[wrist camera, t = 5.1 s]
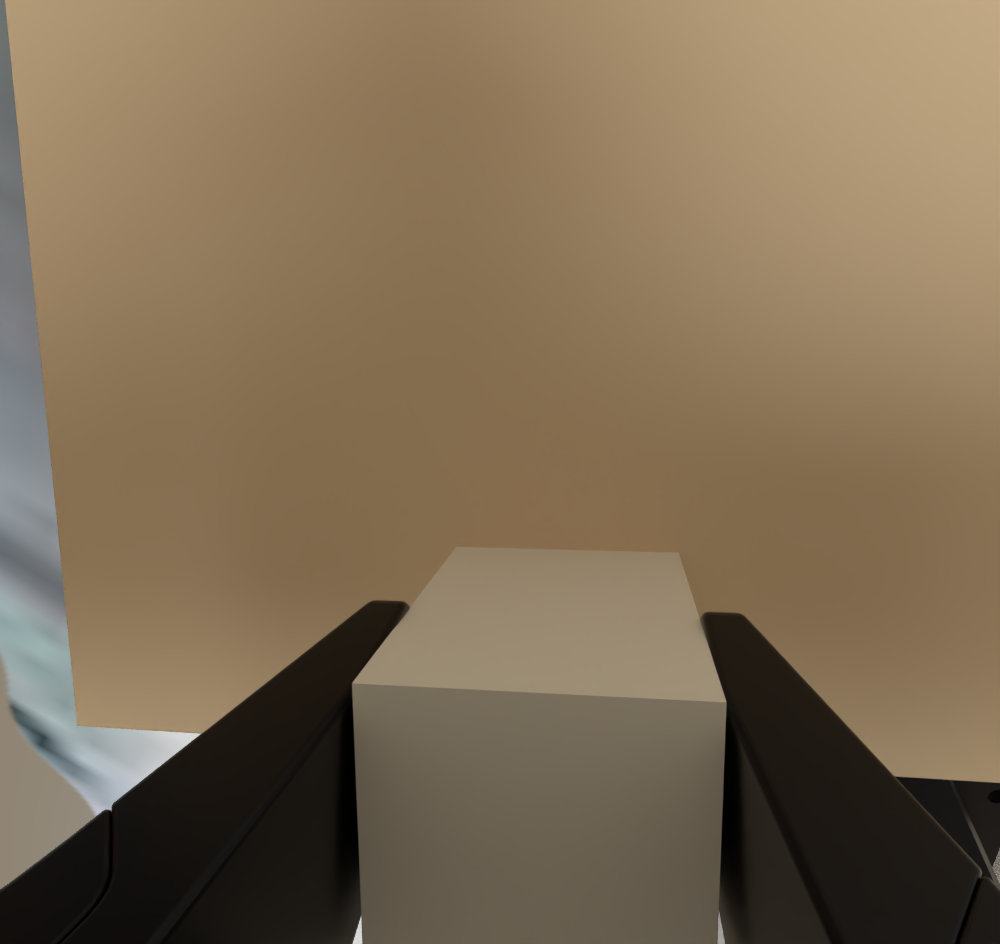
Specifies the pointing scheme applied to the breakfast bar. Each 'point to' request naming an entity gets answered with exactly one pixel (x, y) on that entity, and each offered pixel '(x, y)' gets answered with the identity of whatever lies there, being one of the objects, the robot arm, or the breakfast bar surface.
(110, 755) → the breakfast bar surface
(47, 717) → the breakfast bar surface
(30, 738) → the breakfast bar surface
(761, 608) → the lid flap
